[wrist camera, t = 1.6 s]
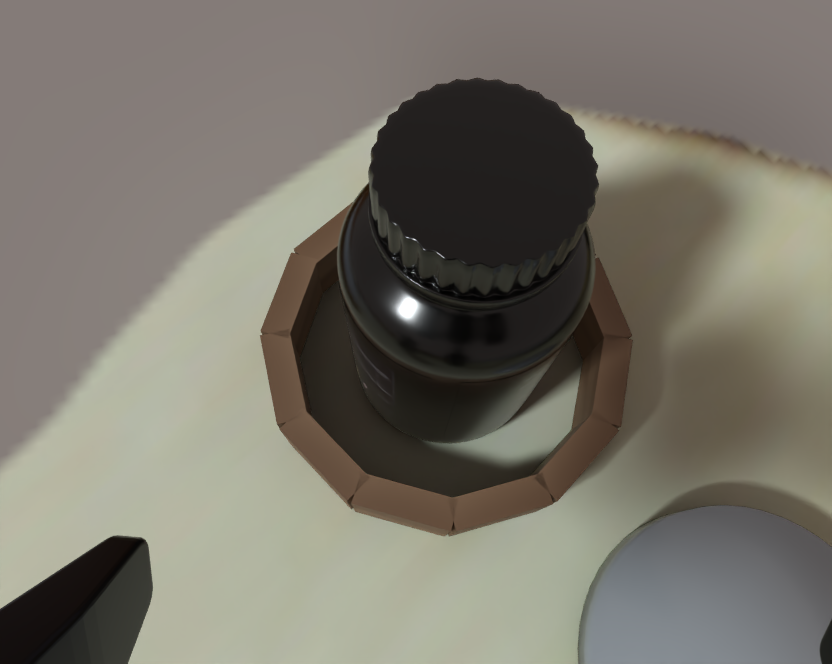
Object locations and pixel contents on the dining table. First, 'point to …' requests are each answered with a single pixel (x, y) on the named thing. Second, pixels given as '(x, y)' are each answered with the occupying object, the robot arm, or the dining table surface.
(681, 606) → the coaster
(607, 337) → the ring holder
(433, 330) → the supplement bottle
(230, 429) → the dining table surface
